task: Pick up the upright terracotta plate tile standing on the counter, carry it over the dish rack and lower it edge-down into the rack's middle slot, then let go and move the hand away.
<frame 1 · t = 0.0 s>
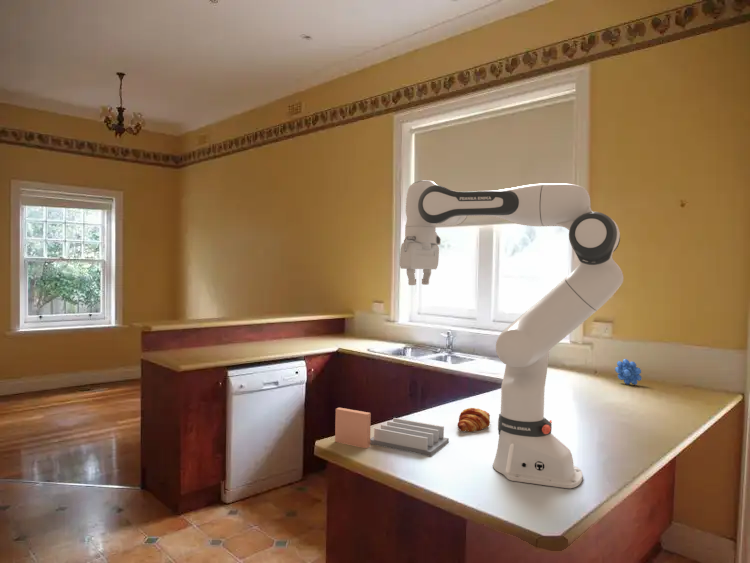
hand: (418, 284, 153), 48 cm above the worktop, fingers open, 8 cm apart
plate tile: (352, 444, 156), on the worktop
dish rack: (409, 442, 159), on the worktop
croissant: (475, 427, 177), on the worktop
blue knobbly flower: (627, 385, 248), on the worktop
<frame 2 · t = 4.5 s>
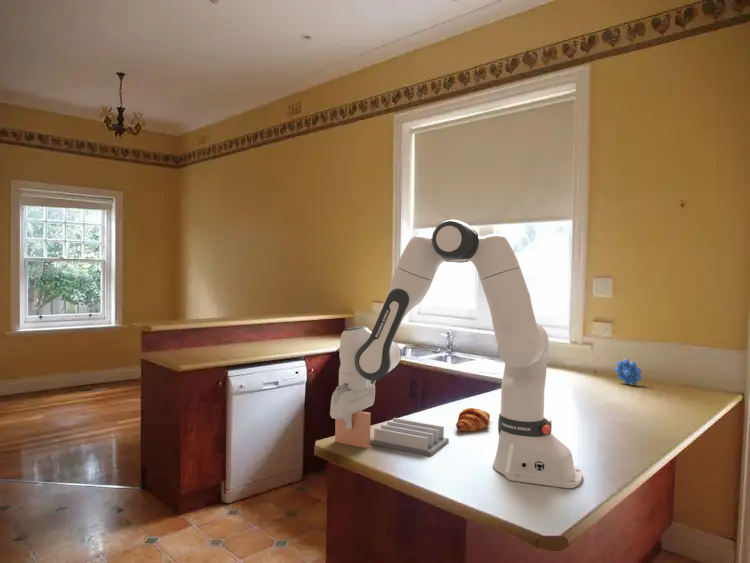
hand: (352, 426, 156), 5 cm above the worktop, fingers closed on plate tile, 2 cm apart
plate tile: (352, 444, 156), on the worktop, touching gripper
everything else where it was.
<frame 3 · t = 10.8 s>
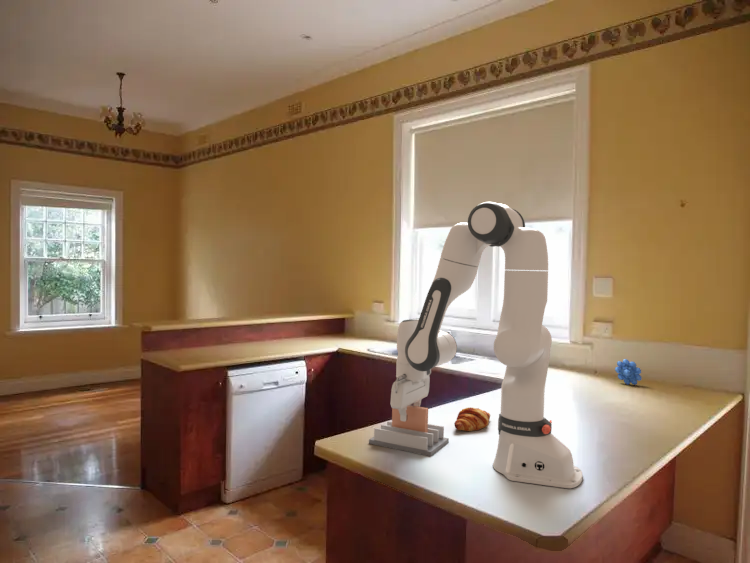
hand: (409, 417, 158), 8 cm above the worktop, fingers open, 7 cm apart
plate tile: (409, 438, 159), point 1 cm above the worktop, touching dish rack
everything else where it was.
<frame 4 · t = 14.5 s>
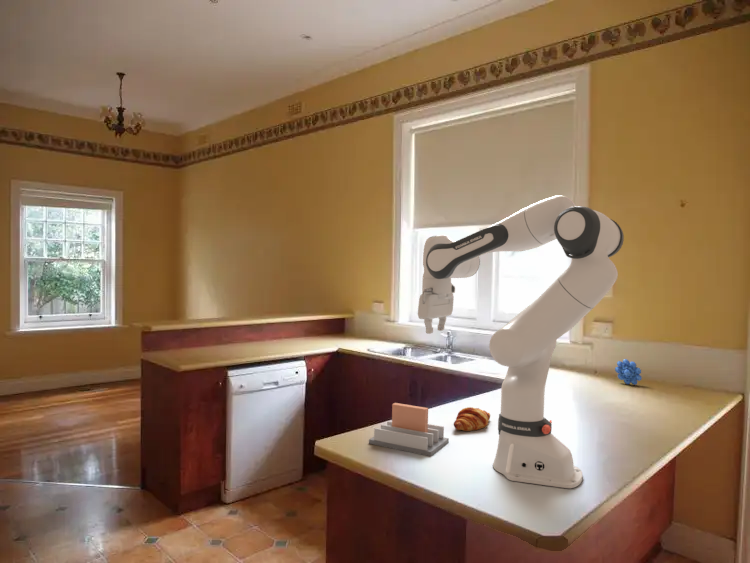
hand: (435, 331, 164), 33 cm above the worktop, fingers open, 8 cm apart
nothing on the worktop moved.
at the end: plate tile 0.0 cm off-centre on the dish rack, point 1.2 cm above the dish rack's base; plate tile tilted 0°; the gripper is holding nothing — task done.
